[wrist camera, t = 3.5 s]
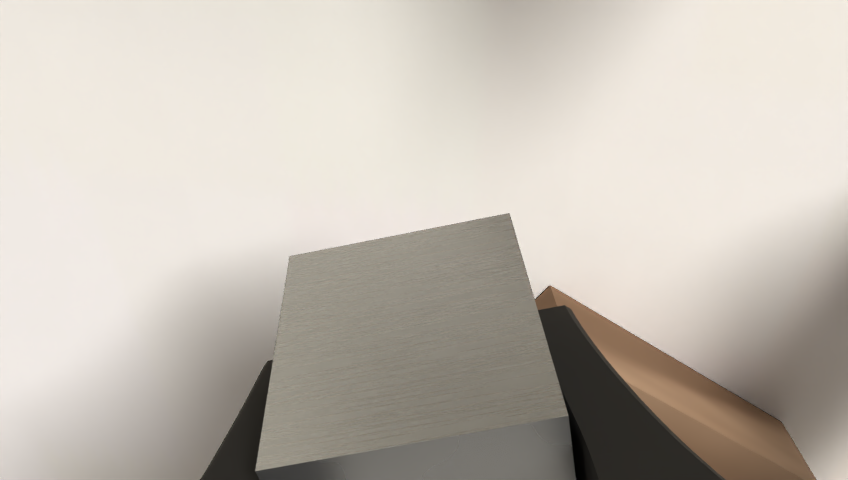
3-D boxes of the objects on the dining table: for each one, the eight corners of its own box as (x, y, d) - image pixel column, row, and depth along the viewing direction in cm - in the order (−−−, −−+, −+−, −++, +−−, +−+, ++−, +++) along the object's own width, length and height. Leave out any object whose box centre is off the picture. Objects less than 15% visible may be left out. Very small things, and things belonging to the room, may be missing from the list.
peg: (509, 212, 12) (568, 415, 9) (533, 370, 15) (588, 584, 11) (289, 256, 13) (255, 471, 9) (346, 404, 15) (337, 624, 11)
